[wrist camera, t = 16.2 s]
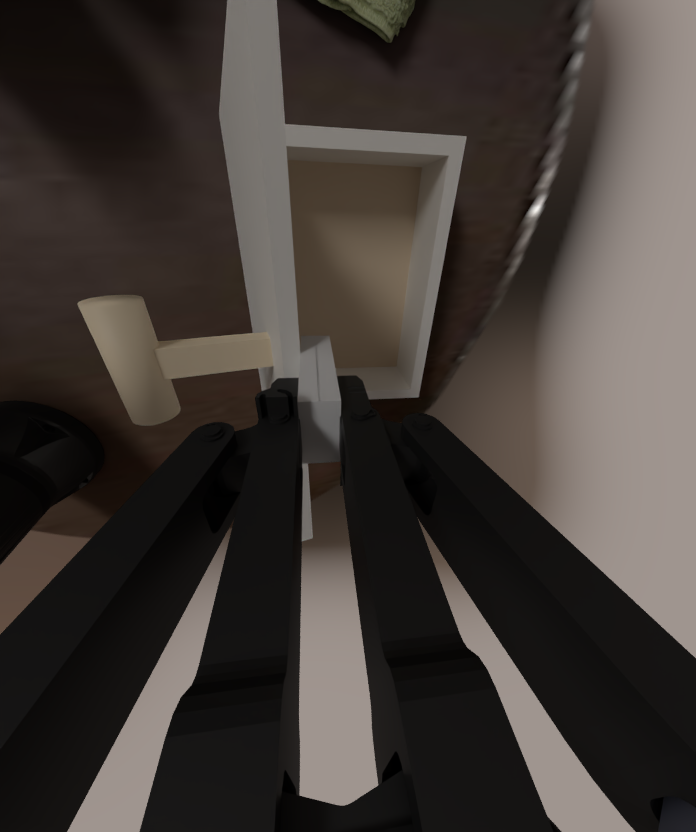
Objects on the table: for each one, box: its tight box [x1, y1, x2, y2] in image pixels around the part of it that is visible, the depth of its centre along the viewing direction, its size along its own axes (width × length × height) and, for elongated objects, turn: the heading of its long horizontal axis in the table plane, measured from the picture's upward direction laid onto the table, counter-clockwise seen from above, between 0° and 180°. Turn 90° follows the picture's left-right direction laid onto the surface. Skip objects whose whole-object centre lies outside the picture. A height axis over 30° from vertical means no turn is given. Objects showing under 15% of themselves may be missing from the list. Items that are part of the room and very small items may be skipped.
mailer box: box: [285, 124, 467, 399], centre depth 32 cm, size 18×24×8 cm
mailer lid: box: [78, 0, 313, 541], centre depth 19 cm, size 18×24×9 cm
